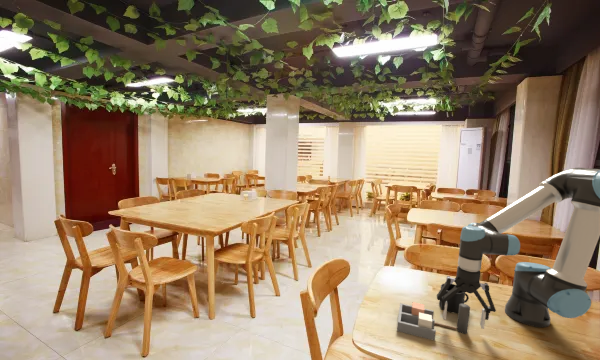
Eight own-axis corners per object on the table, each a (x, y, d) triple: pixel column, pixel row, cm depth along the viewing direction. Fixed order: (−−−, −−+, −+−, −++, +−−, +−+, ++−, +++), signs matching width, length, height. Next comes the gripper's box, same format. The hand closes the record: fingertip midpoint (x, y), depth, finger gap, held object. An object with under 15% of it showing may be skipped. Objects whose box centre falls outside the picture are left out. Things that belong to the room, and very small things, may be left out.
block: (430, 330, 111) (431, 315, 110) (430, 336, 107) (432, 321, 106) (417, 326, 113) (419, 312, 112) (417, 333, 108) (419, 318, 108)
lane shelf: (432, 318, 119) (433, 310, 118) (434, 340, 105) (435, 331, 104) (399, 310, 123) (400, 303, 123) (396, 330, 110) (397, 321, 109)
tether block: (466, 328, 113) (469, 304, 112) (468, 335, 108) (471, 310, 107) (411, 315, 120) (413, 292, 119) (410, 321, 116) (413, 297, 115)
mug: (473, 314, 123) (476, 294, 122) (445, 313, 123) (447, 293, 122) (461, 302, 133) (463, 283, 132) (435, 301, 132) (437, 282, 131)
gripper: (504, 270, 107) (497, 325, 110) (432, 258, 116) (427, 309, 119) (510, 278, 101) (503, 336, 103) (433, 265, 109) (428, 319, 112)
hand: (462, 322), depth 111 cm, fingers open, 12 cm apart
